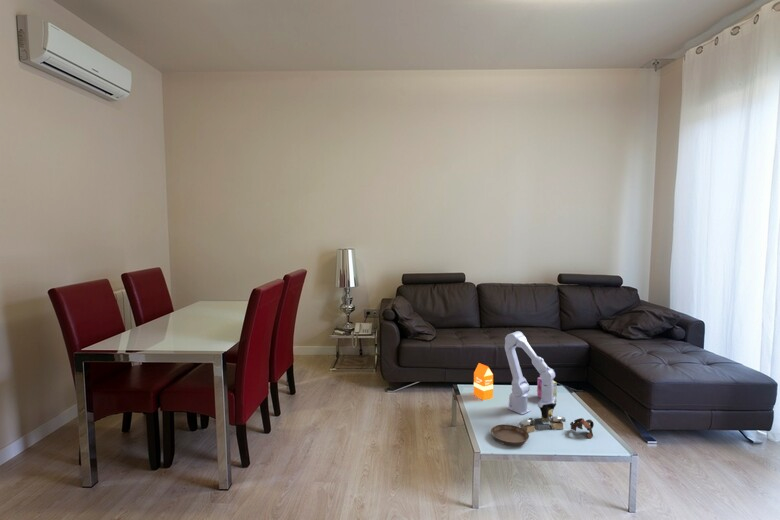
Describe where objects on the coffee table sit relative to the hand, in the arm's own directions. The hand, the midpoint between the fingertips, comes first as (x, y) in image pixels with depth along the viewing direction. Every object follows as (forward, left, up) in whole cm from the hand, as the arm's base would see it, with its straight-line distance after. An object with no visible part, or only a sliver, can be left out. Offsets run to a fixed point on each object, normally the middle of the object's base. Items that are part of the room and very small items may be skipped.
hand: (546, 416), depth 205 cm
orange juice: (-40, -4, -2) cm, 40 cm away
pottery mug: (+19, +1, -2) cm, 19 cm away
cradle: (+2, -10, -2) cm, 10 cm away
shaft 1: (+1, -18, -2) cm, 18 cm away
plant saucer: (0, -32, -2) cm, 32 cm away
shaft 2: (+8, -3, -2) cm, 8 cm away
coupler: (0, 0, -1) cm, 1 cm away
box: (-15, +24, -2) cm, 28 cm away
